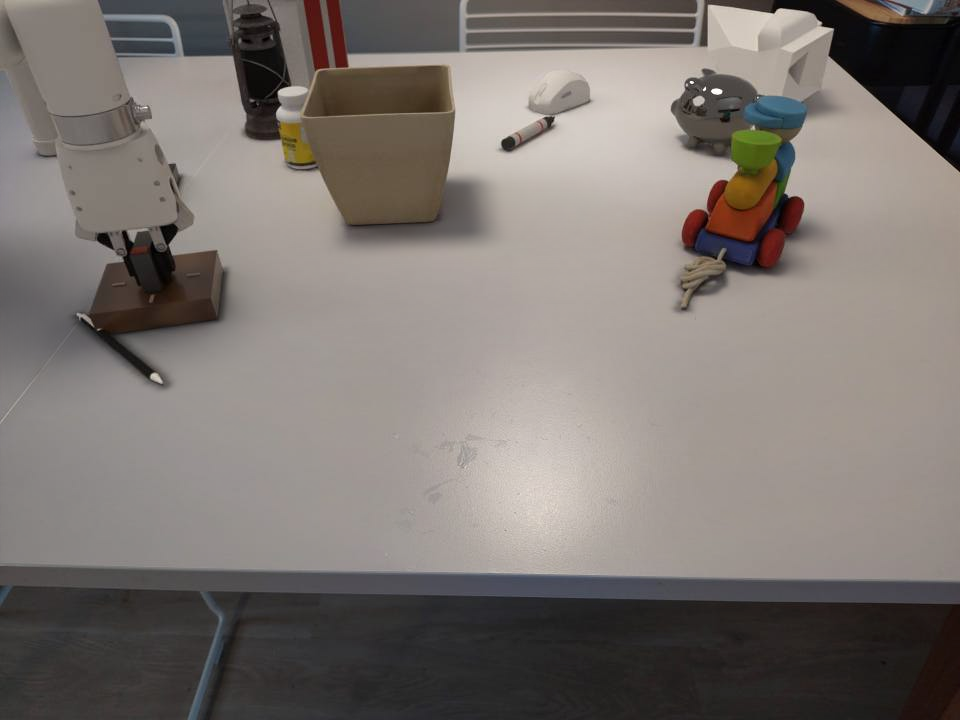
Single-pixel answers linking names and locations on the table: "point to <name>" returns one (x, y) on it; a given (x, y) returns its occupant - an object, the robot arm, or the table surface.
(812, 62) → the white angular block
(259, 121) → the lantern
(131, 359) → the pen
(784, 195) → the toy train
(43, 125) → the pipe
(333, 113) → the flower pot
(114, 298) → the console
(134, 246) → the dial knob
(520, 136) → the marker
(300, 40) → the red white striped box
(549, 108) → the computer mouse
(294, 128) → the pill bottle
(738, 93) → the piggy bank
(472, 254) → the table surface
